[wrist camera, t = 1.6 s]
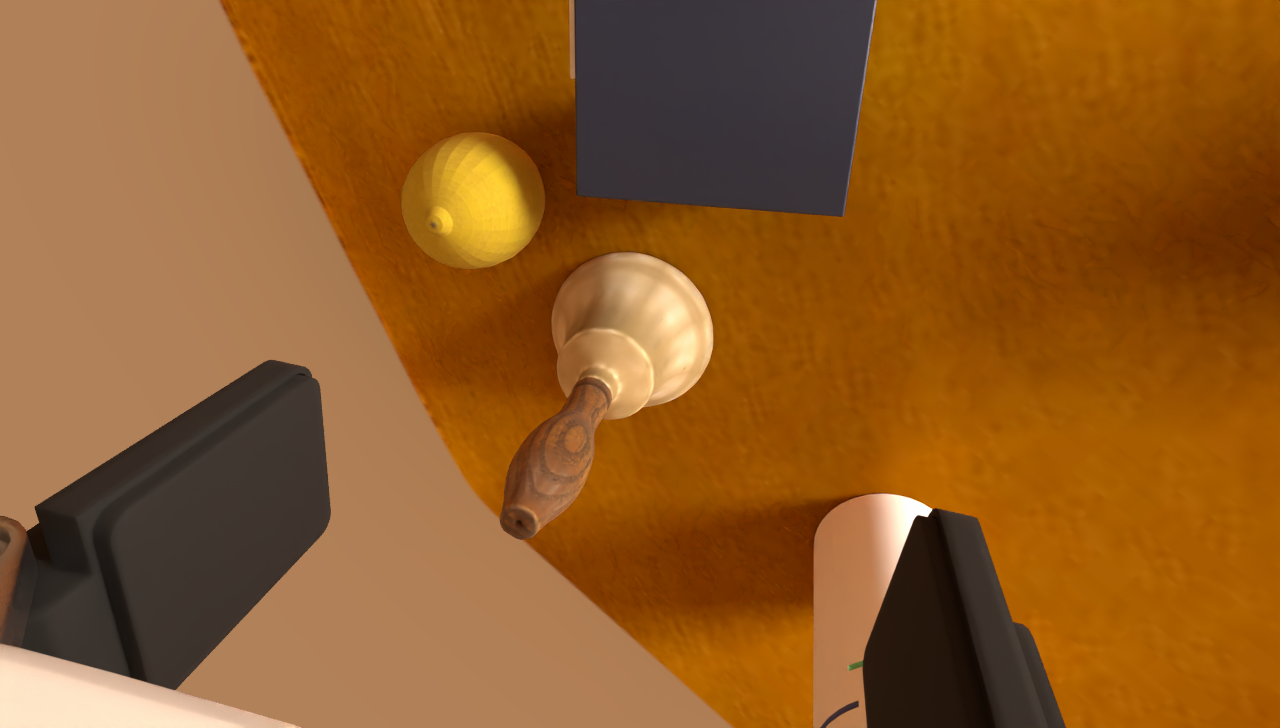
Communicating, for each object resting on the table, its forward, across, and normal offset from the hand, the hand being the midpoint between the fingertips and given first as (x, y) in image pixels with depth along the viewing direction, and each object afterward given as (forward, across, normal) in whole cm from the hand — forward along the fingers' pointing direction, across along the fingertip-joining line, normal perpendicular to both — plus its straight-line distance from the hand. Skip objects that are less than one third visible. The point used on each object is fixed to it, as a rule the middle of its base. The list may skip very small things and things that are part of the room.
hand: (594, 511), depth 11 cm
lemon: (+24, +10, +2) cm, 26 cm away
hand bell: (+24, +4, +8) cm, 26 cm away
